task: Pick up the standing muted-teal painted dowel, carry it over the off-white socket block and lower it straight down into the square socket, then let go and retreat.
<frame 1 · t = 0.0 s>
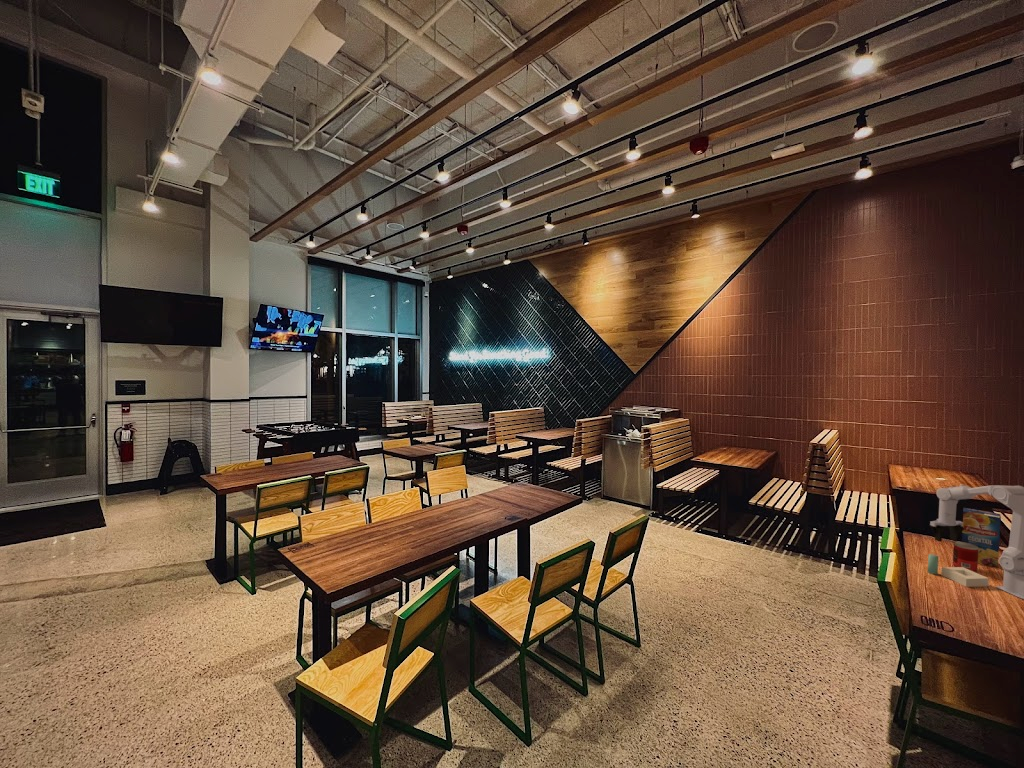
hand: (945, 540, 204), 10 cm above the table, fingers open, 7 cm apart
peg: (932, 572, 192), on the table
juice carton: (978, 561, 204), on the table
socket block: (964, 580, 186), on the table
canned food: (964, 568, 197), on the table
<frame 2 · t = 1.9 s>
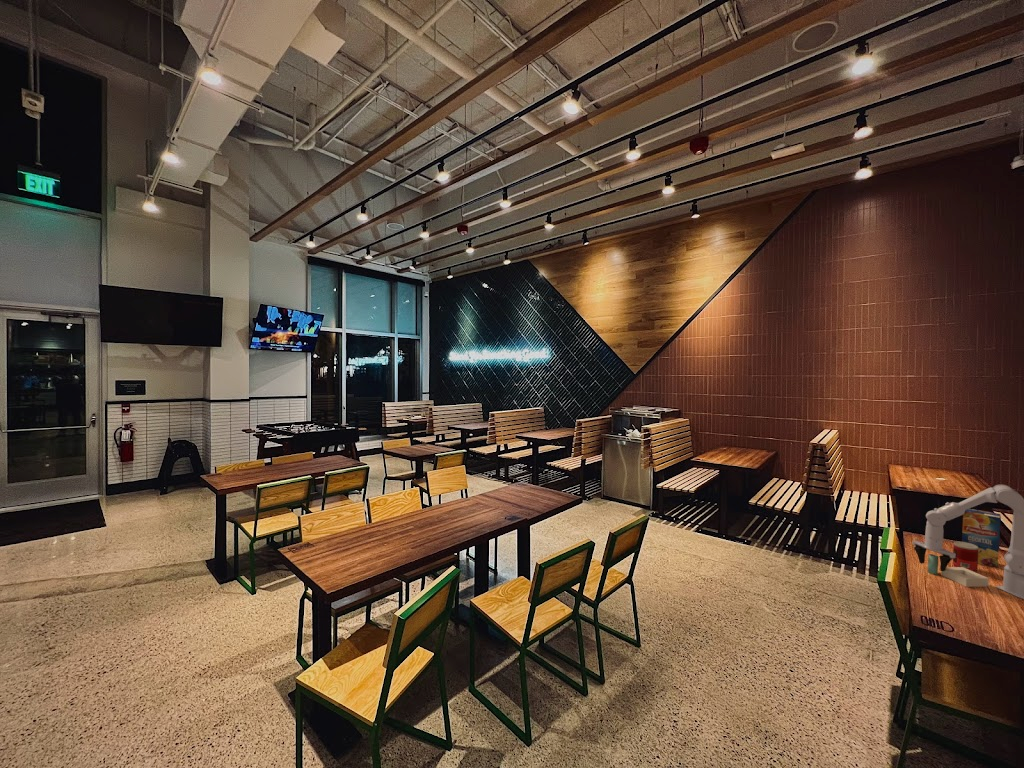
hand: (932, 566, 192), 3 cm above the table, fingers open, 7 cm apart
nothing on the table moved.
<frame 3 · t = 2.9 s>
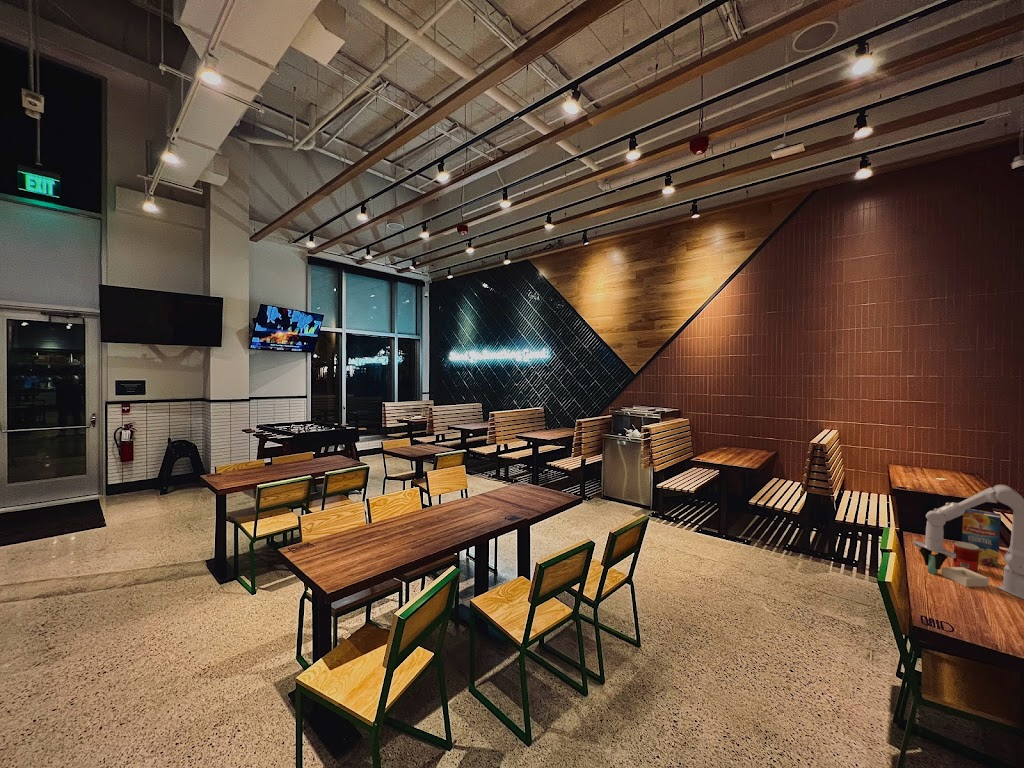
hand: (932, 567, 192), 3 cm above the table, fingers closed on peg, 3 cm apart
peg: (932, 572, 192), on the table, touching gripper
everything else where it was.
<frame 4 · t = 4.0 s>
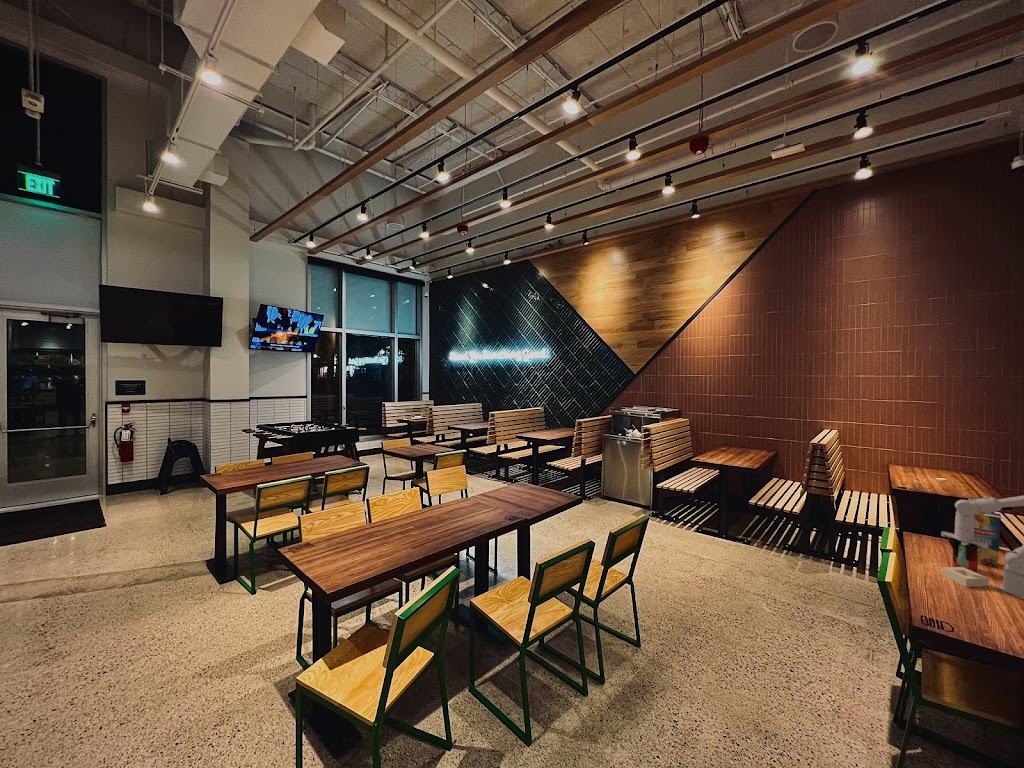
hand: (963, 558, 186), 10 cm above the table, fingers closed on peg, 3 cm apart
peg: (962, 564, 186), point 7 cm above the table, touching gripper
everything else where it was.
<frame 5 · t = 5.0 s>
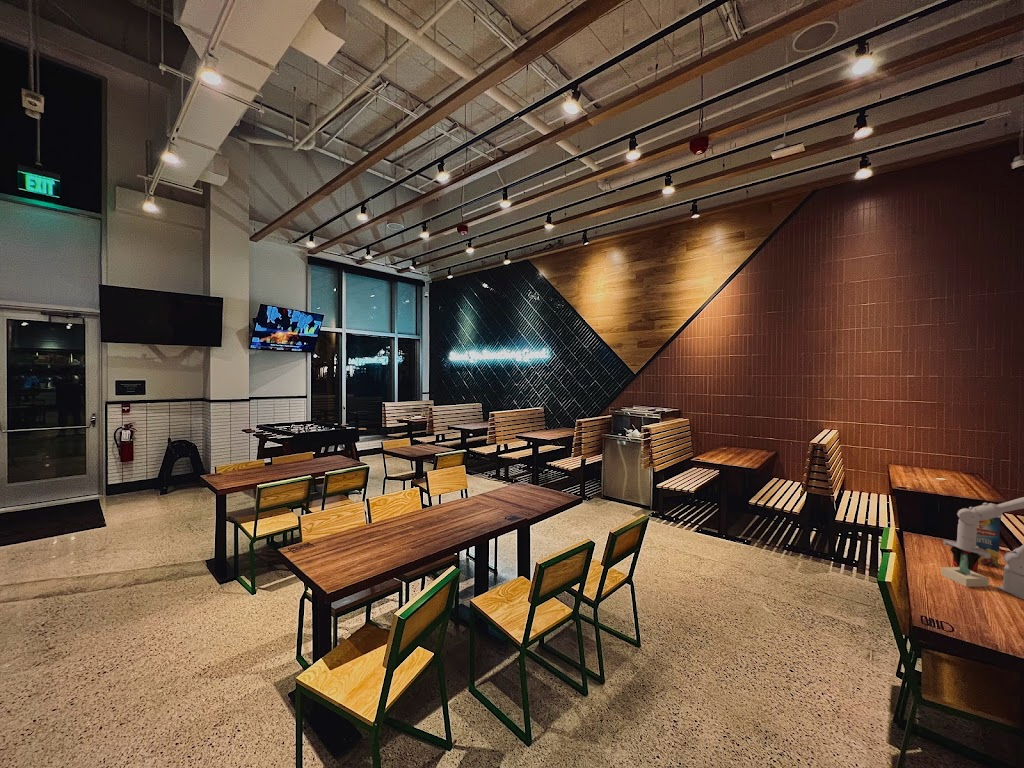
hand: (964, 567, 185), 6 cm above the table, fingers closed on peg, 3 cm apart
peg: (964, 572, 186), point 3 cm above the table, touching gripper
everything else where it was.
when the fingers open (4 cm above the table, at t = 5.8 s): peg drops 1 cm, resting in socket block.
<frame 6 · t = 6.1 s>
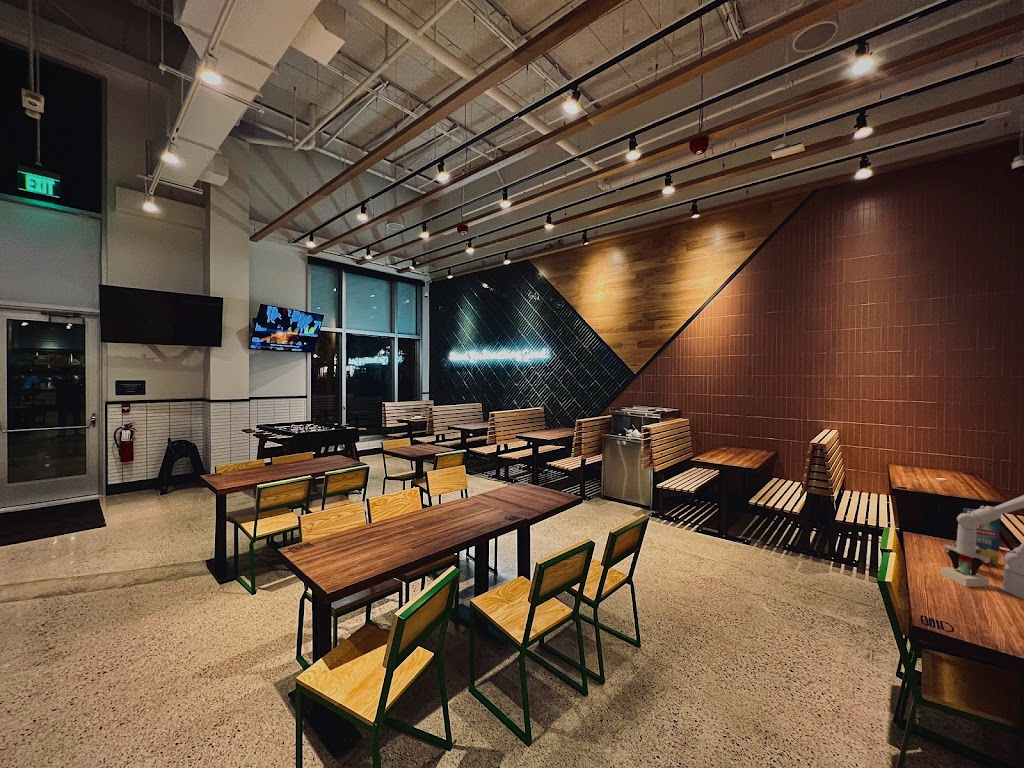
hand: (964, 571, 186), 4 cm above the table, fingers open, 5 cm apart
peg: (964, 580, 186), resting in socket block
everything else where it was.
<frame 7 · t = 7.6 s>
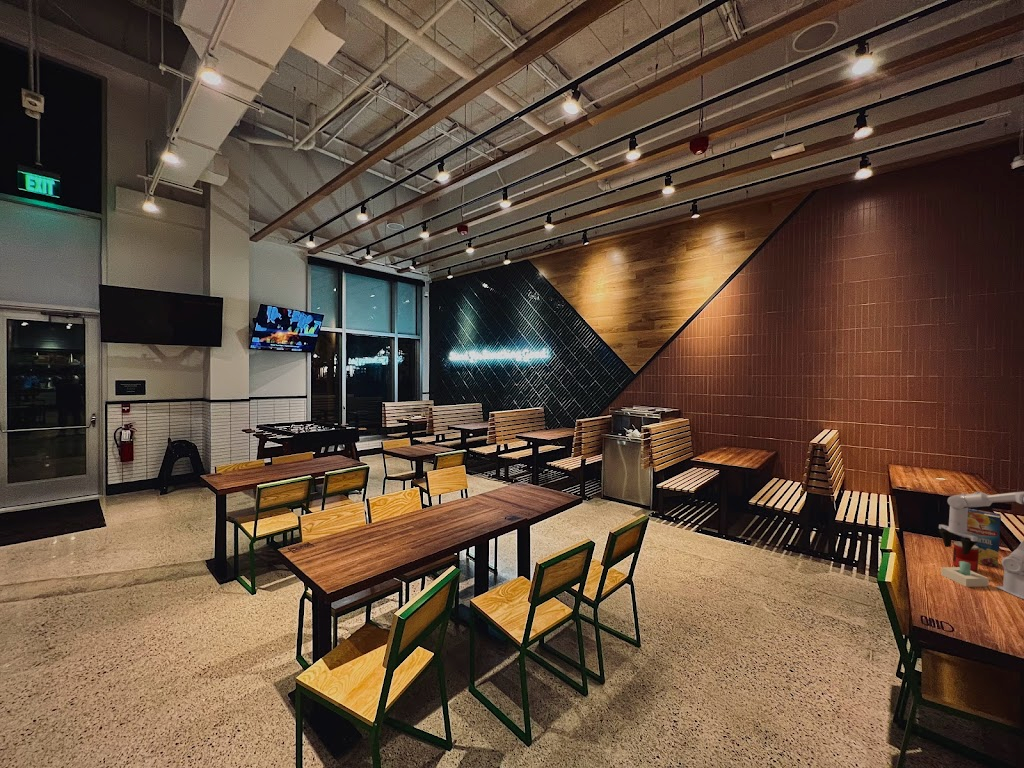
hand: (956, 550, 193), 10 cm above the table, fingers open, 7 cm apart
nothing on the table moved.
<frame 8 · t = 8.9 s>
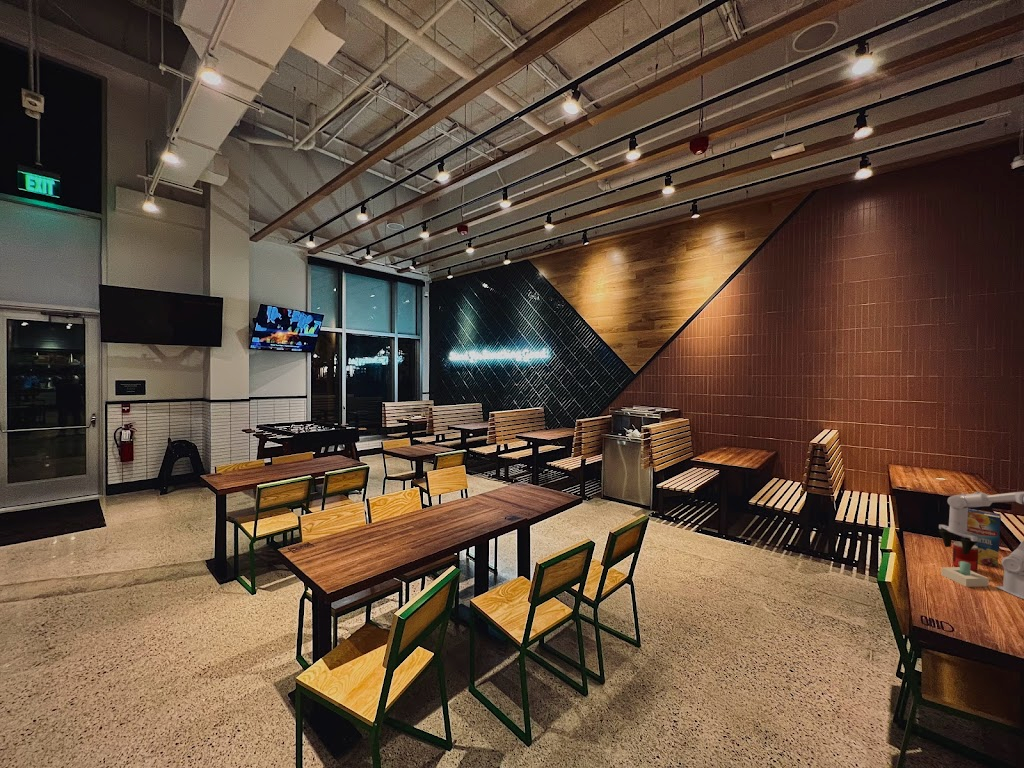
hand: (956, 550, 193), 10 cm above the table, fingers open, 7 cm apart
nothing on the table moved.
at the end: peg 0.0 cm off-centre on the socket block, point 0.0 cm above the socket block's base; peg tilted 0°; the gripper is holding nothing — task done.
